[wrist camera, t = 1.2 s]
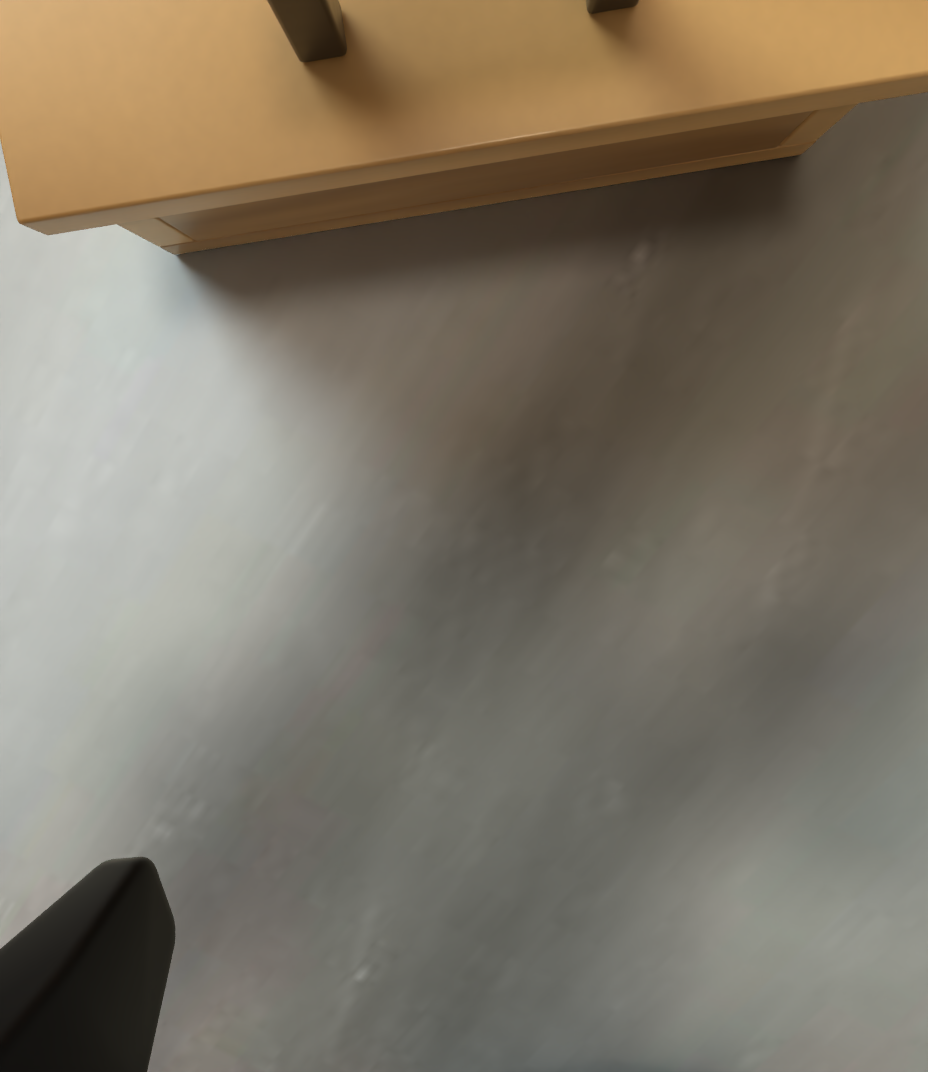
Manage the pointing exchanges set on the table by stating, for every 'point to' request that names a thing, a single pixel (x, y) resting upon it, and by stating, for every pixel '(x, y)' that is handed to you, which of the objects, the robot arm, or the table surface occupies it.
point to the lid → (397, 88)
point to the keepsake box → (490, 183)
